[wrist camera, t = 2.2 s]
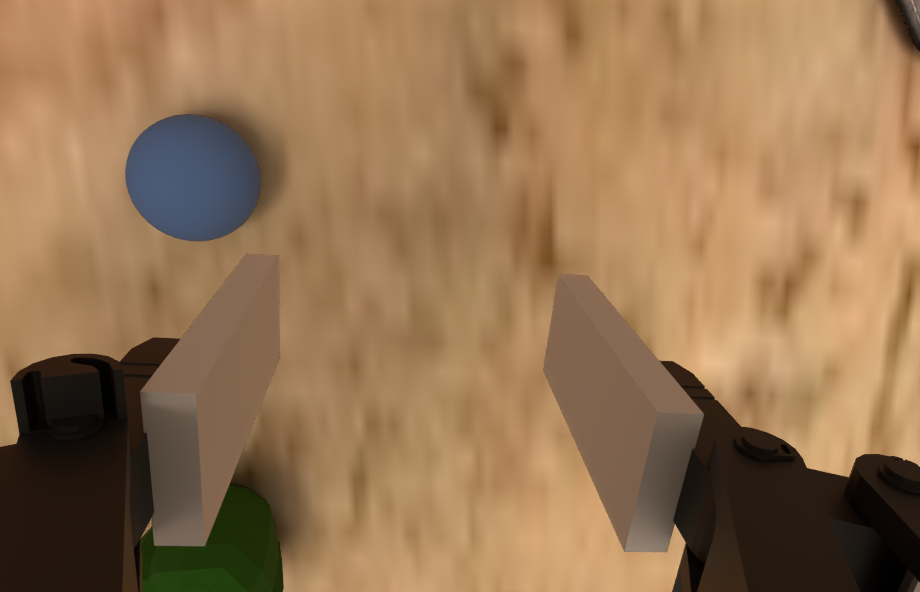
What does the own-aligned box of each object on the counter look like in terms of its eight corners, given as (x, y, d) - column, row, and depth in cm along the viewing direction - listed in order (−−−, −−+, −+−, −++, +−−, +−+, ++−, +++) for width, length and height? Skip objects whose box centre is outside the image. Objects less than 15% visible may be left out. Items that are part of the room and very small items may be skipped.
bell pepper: (322, 496, 38) (297, 640, 29) (261, 589, 40) (219, 752, 31) (189, 438, 36) (114, 574, 26) (131, 541, 38) (44, 700, 29)
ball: (157, 219, 31) (109, 252, 26) (148, 103, 29) (95, 114, 24) (271, 227, 32) (247, 261, 27) (270, 114, 30) (243, 127, 25)
